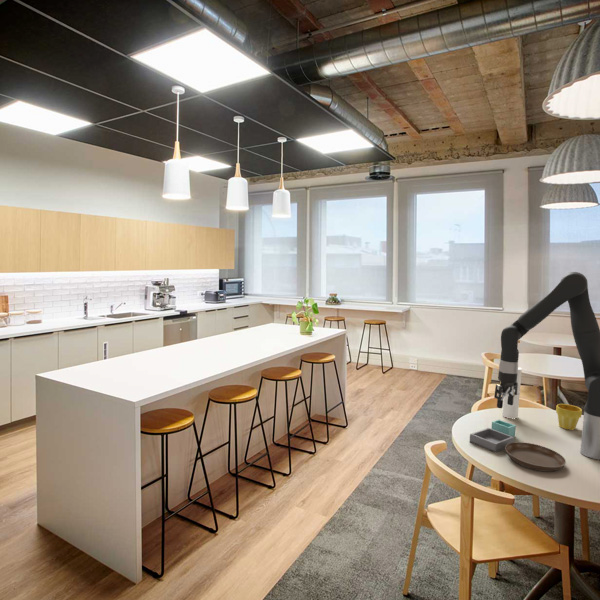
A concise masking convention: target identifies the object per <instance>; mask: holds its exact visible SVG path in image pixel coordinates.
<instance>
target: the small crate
mask: <svg viewBox="0 0 600 600" xmlns="http://www.w3.org/2000/svg"><path fill="white" fill-rule="evenodd" d="M516 428H517V425H516V424H513V423H510V422H507V421H504V420H501V419H496V420H493V421H491V428H490V429H493V430H496V431H498V432H501V433H504V434H507V435H509V436H512V437H514V436H515V437H516V430H517V429H516ZM515 437H514V438H515Z"/></svg>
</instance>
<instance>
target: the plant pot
mask: <svg viewBox="0 0 600 600" xmlns="http://www.w3.org/2000/svg"><path fill="white" fill-rule="evenodd" d="M555 408H556V409H555V413H556V414H557V421H558V426H559V427H560V428H562V429H564V430H568V429H569V430H568V431H574V430H576V428H577V425H578V422H579V420H580V418H582V416H583V415H582V414H583V409H582V408H580V407H579V406H577V405H572V404H567V403H558V404H557V405H556V407H555Z"/></svg>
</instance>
